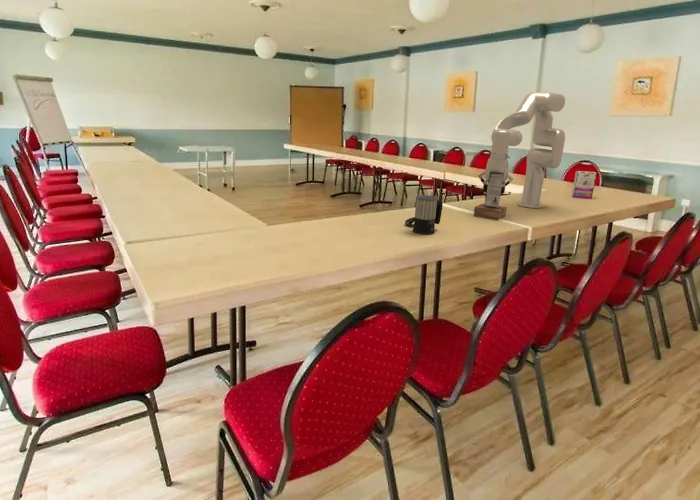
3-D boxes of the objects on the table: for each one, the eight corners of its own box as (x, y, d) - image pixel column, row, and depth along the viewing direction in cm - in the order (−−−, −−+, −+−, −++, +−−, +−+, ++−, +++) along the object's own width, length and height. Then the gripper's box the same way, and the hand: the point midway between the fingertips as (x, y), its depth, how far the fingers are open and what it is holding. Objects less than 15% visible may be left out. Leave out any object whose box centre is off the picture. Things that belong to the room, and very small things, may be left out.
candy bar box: (589, 197, 300) (594, 171, 295) (591, 199, 295) (597, 173, 290) (570, 196, 302) (575, 170, 297) (572, 197, 297) (578, 171, 292)
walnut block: (481, 212, 241) (483, 203, 240) (505, 217, 235) (506, 207, 233) (473, 216, 232) (474, 206, 230) (497, 221, 225) (499, 211, 224)
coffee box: (484, 201, 236) (488, 169, 231) (497, 202, 235) (502, 170, 230) (485, 205, 228) (490, 172, 223) (499, 206, 227) (504, 173, 222)
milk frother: (428, 236, 192) (432, 200, 187) (394, 229, 200) (397, 194, 195) (442, 229, 203) (446, 195, 199) (409, 222, 211) (412, 190, 207)
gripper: (518, 158, 224) (512, 194, 229) (481, 154, 231) (476, 190, 237) (516, 159, 218) (510, 197, 223) (478, 155, 225) (473, 192, 230)
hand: (493, 193), depth 230 cm, fingers closed on coffee box, 7 cm apart
